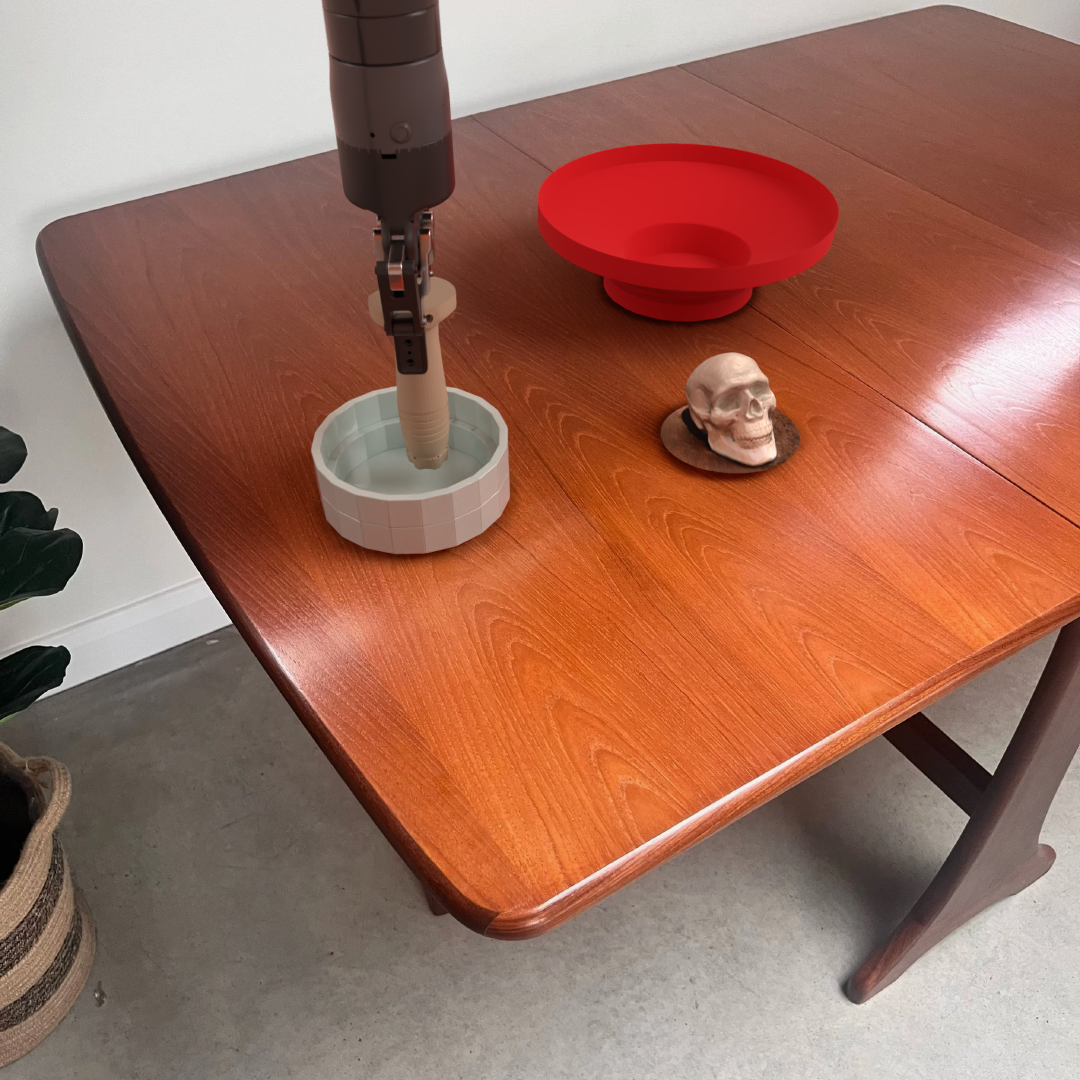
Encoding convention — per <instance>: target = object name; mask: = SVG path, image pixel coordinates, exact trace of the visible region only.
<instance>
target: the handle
mask: <svg viewBox="0 0 1080 1080" xmlns="http://www.w3.org/2000/svg"><path fill="white" fill-rule="evenodd" d="M417 282H418V284H419V283H420V282H421V278H417ZM430 284H431V290H430V292H429V294H428V295H426V296H425V297H424V307H425V318H427V325H425V334H426V345H427V355H428V370H427V372H426V373H425V374H422V375H403V374H400V373H399V372H398V370H397V362H396V353H395V352H394V360H395V362H394V363H395V377H396V378H395V382H396V383H395V384H396V385H395V386H397V404H398V413H399V420H400V425H401V430H402V435H403V438H404V441H405V444H406V447H407V448H406V452H407V456H408V459H409V461H410V462H411V463H413V464H414V466H415V468H416V469H419V470H421V469H433V470H435V469H438V468H440V467H441V464H442V463H443V462H444V461H446V460H447V459H448V453H449V445H447V444H448V437H449V405H448V395H447V389H446V387H447V383H446V377H445V370H444V365H443V357H442V349H441V342H440V335H439V334H440V333H439V324H440V323H441V322H442V321H444V320H445V319H446V318H447V317H449V316H450V315H451V314H453V312H454V311H455V310H456V309H457V291H456V290H457V289H456V287H455V286H454V284H452V283H451V282H450V281H448V280H446V279H444V278H441V277H439V276H433V277H430ZM367 303H368V311H369V316H370V318H371V319H372V321H373V322H374V323H375V324H377V325H378V326H380V327H382V328H384V317H383V311H382V305H381V299H380V293H379V289H377V290H376V291H374V292H373V293H371V294H369V295H368V297H367ZM397 313H411V312H410V311H397ZM393 346H394V348H395V345H394V344H393Z"/></svg>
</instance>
